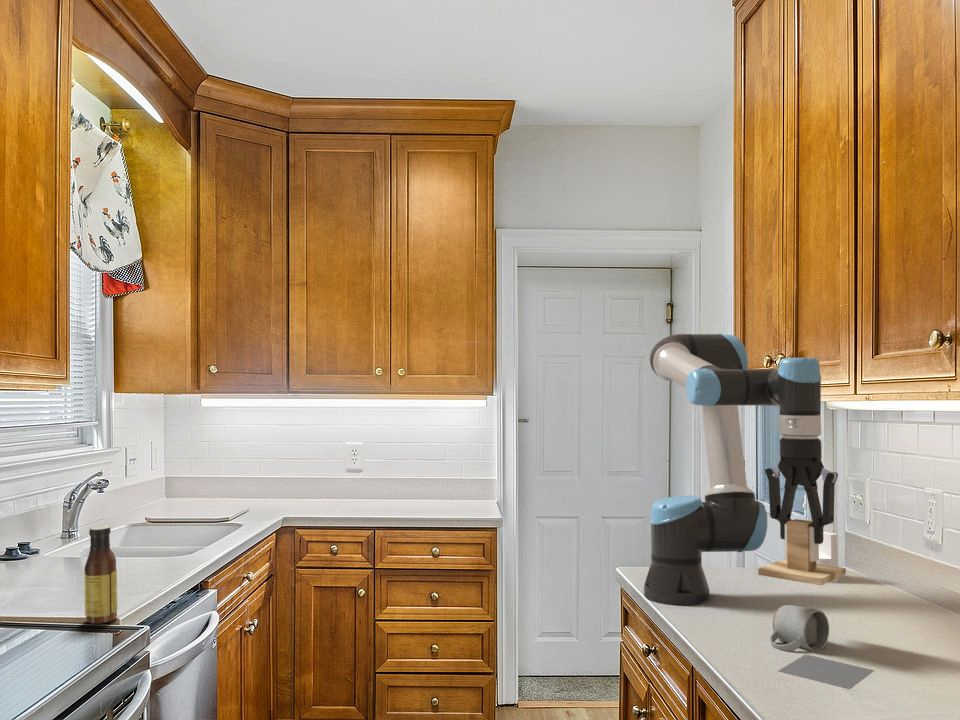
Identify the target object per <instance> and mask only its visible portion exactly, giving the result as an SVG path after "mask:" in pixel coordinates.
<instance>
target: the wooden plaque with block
mask: <svg viewBox="0 0 960 720" xmlns="http://www.w3.org/2000/svg"><path fill="white" fill-rule="evenodd" d="M812 524H813V522H812V520H807V519H799V518H798V519H797V518H794V519H792V520H790V521H787V558H783V559H780V560H779V561H776V562H773V563H771V564H768V565H764V566H762V567H759V568H758V570H757V572H758V574H757V575H758V576H763V577H769V578H774V579H775V578H776V579H780V580H786V581H787V580H788V581H793V582H799V583H803V584H804V583H805V584H812V585H815V586H823V585H825V584H827V583H828V582H830V581H832V580H835V579H837V578H838V579H839V578H840V577H841V578H842V577H843V576H845V575H846V573H847V572H846V571H847V570H846V567H841V566H840V567H839V566H838V567H834V566H827V565H821V564H816V561H814V562H811V561H809V527H810V526H812Z"/></svg>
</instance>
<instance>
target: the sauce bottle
mask: <svg viewBox="0 0 960 720" xmlns="http://www.w3.org/2000/svg"><path fill="white" fill-rule="evenodd" d="M88 534H89V536H90V537H89V538H90V545H89V546H90V547H89V553H88V555H87V556H88V557H87V559H86V562H85V564H84V570H83V571H84V573H83V574H84V614H85V615H84V616H85V618H86V619H85V620H86V622H87V623H90V624H95V625H101V624H104V623H105V624H106V623H110V622H113V621H114V620H116V619H117V617H118V614H117V611H118V578H117V577H118V575H117V573H118V571H117V559H116V557H115V553H114V552H113V551H112V549H111V548H110V547H111V544H110V543H111V541H110V534H111V527H110V526H109V525H97V526H92V527H90V528H89V532H88Z"/></svg>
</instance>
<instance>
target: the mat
mask: <svg viewBox="0 0 960 720" xmlns="http://www.w3.org/2000/svg"><path fill="white" fill-rule="evenodd" d="M874 671H875V670H874V669H870V668H866V667H863V666H858V665H853V664H850V663H844V662H842V661H841V662H840V661H835V660H832V659H828V658H823V657H819V656H814V655H810V654H804V655H801V657H798V658H797V659H795V660H794V661H791V663H789V664H787V665H785V666H784V667H782V668H780V669H779V670H777V672H779V673H784V674H788V675H791V676H796V677H799V678H804V679H806V680H807V679H808V680H811V681H816V682H817V683H822V684H826V685H830V686H835V687H838V688H842V689H846V690H851V688H854V686H856V685H857V684H858V683H860V682H862V680H864V679H865V678H867V677H868V676H869V675H870V674H872V673H873V672H874Z"/></svg>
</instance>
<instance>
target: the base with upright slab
mask: <svg viewBox="0 0 960 720" xmlns="http://www.w3.org/2000/svg"><path fill="white" fill-rule="evenodd" d="M838 550H839V549H838V533H835V532H828V531H823V543H821V544H819V560H817V561H816V564H821V565H827V566H834V567H839V555H838V554H839V553H838ZM837 582H839V578H837V579H835V580H832V581H830V582H828V583H837Z"/></svg>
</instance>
